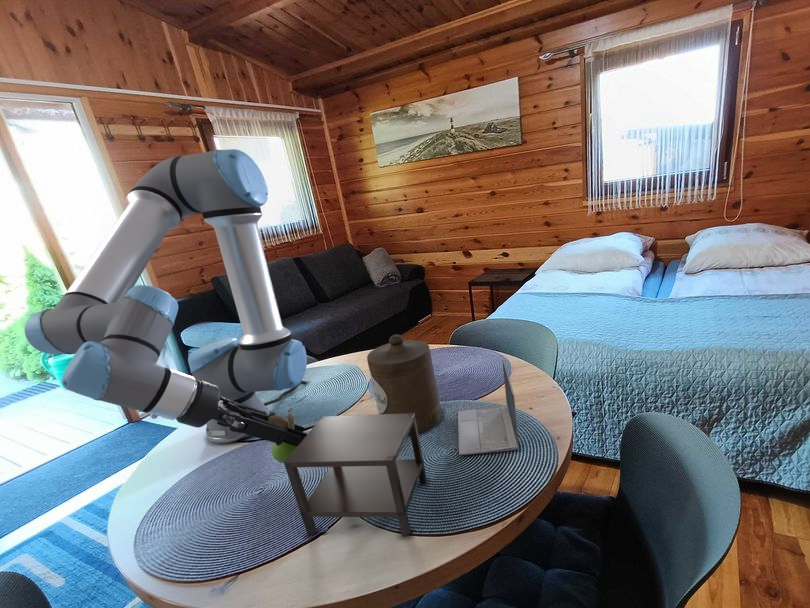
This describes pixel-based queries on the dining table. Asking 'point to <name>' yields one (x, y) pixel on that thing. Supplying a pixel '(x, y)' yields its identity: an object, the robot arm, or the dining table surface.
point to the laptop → (489, 426)
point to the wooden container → (405, 381)
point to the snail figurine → (284, 449)
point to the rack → (358, 468)
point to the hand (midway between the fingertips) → (306, 438)
